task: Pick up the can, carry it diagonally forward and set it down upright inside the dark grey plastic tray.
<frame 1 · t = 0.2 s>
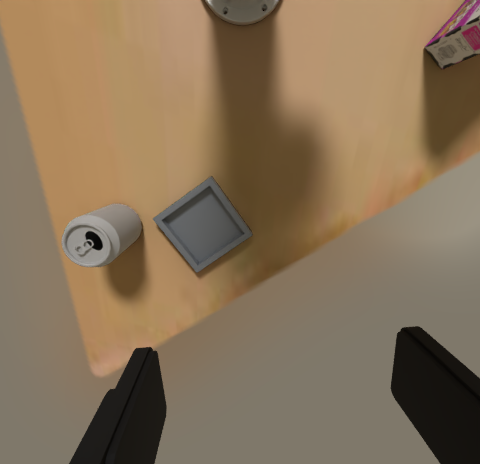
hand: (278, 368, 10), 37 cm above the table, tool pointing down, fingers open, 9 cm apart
can: (121, 223, 46), on the table
candy bar box: (459, 29, 40), on the table
tray: (204, 223, 46), on the table
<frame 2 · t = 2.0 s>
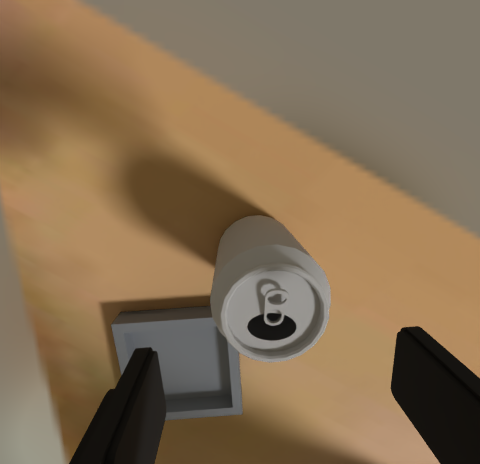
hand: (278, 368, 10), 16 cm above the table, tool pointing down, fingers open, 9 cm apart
can: (255, 249, 26), on the table
tray: (184, 356, 29), on the table
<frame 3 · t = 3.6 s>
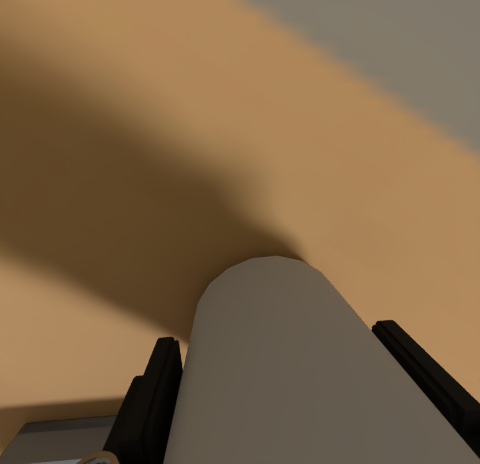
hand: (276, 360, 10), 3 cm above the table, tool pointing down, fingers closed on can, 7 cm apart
can: (266, 313, 14), on the table, touching gripper
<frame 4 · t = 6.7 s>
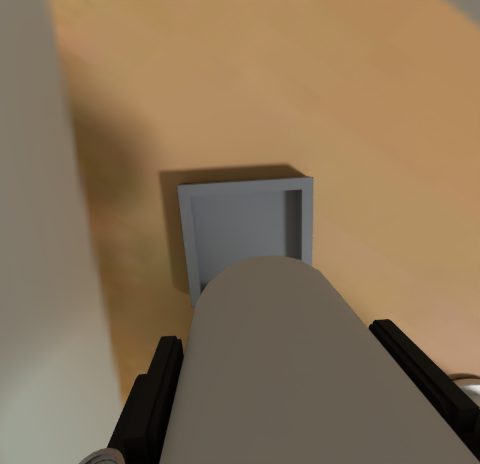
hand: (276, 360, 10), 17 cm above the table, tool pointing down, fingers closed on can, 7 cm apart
can: (264, 313, 14), point 13 cm above the table, touching gripper
tray: (247, 239, 27), on the table
when the fingers open (5 cm above the table, at t = 9.7 s): can stays where it is, resting on tray.
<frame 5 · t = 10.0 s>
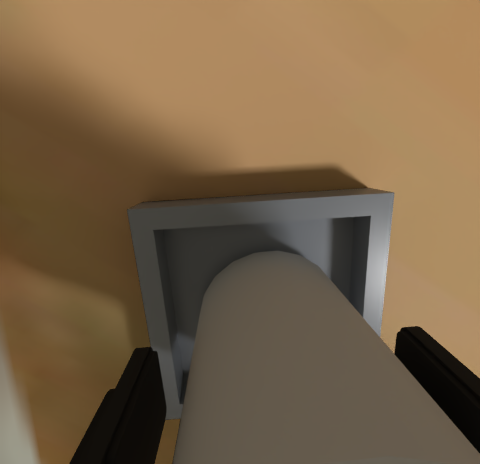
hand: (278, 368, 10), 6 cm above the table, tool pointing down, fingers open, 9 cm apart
can: (267, 305, 15), resting on tray
tray: (261, 296, 15), on the table
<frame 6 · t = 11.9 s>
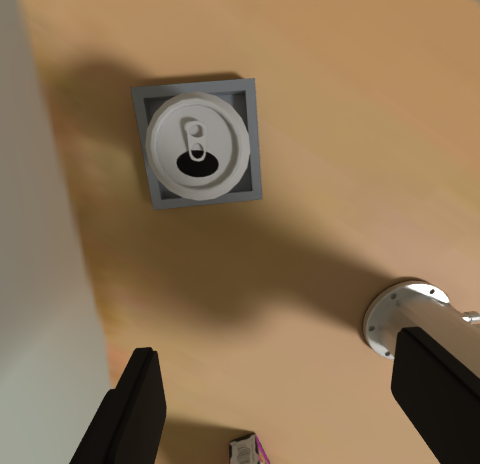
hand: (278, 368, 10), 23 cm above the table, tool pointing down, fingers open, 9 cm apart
can: (205, 151, 29), resting on tray
candy bar box: (252, 457, 44), on the table
tray: (202, 148, 29), on the table
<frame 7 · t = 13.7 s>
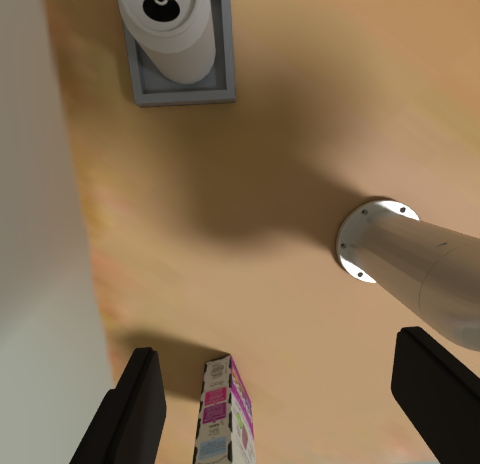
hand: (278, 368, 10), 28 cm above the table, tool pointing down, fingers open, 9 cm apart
can: (185, 52, 31), resting on tray
candy bar box: (228, 382, 45), on the table
tray: (183, 50, 32), on the table
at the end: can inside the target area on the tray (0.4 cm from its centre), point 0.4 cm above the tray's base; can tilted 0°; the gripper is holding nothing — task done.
